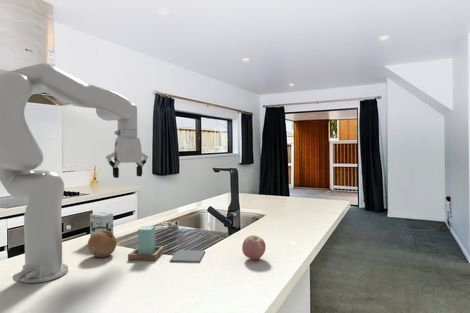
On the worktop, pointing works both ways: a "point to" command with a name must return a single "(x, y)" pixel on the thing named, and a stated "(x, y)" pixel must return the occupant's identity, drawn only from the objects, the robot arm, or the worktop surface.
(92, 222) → the ink box
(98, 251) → the onion
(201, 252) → the mat
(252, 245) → the apple
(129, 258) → the pocket frame
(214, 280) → the worktop surface
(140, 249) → the part
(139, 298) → the worktop surface
